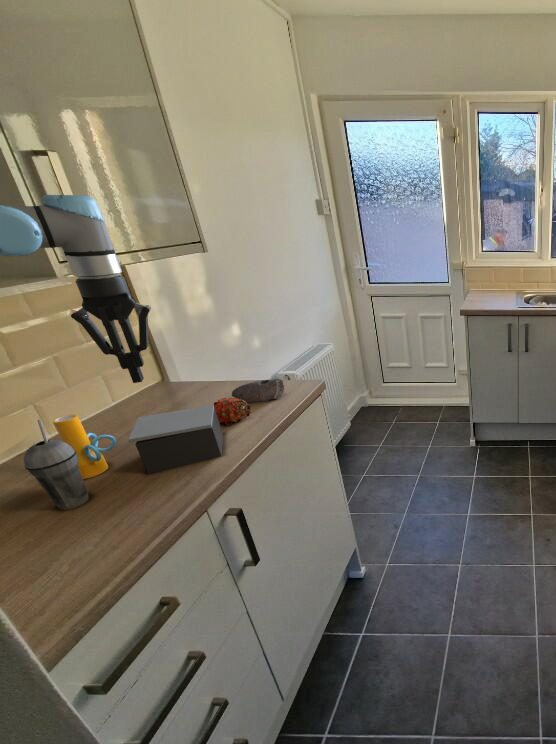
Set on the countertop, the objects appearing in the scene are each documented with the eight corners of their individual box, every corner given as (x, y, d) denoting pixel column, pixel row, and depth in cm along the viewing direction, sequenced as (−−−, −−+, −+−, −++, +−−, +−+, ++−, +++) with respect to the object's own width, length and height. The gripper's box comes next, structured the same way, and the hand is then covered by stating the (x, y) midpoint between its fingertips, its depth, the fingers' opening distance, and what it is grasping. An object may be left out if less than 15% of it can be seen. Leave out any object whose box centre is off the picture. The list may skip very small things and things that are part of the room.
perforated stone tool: (231, 408, 130) (225, 387, 127) (236, 401, 135) (230, 381, 132) (284, 401, 134) (279, 382, 131) (287, 395, 139) (282, 376, 136)
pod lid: (128, 442, 93) (127, 439, 93) (139, 420, 103) (138, 417, 103) (212, 427, 101) (211, 424, 101) (214, 407, 111) (213, 404, 110)
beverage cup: (41, 514, 86) (-8, 430, 78) (80, 492, 92) (39, 412, 84) (69, 518, 84) (22, 433, 76) (107, 495, 91) (68, 415, 83)
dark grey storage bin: (148, 476, 98) (135, 444, 94) (156, 451, 107) (144, 421, 104) (222, 458, 104) (212, 427, 101) (223, 436, 114) (214, 407, 111)
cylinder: (80, 463, 102) (53, 409, 96) (131, 456, 105) (108, 403, 99) (47, 493, 92) (14, 435, 86) (104, 484, 95) (76, 427, 88)
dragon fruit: (258, 424, 123) (213, 436, 120) (256, 400, 127) (212, 411, 124) (245, 412, 116) (197, 425, 113) (242, 387, 120) (196, 398, 117)
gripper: (142, 271, 92) (175, 370, 101) (62, 276, 86) (105, 380, 95) (136, 276, 86) (171, 380, 95) (49, 281, 80) (96, 392, 89)
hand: (138, 380), depth 95 cm, fingers closed
